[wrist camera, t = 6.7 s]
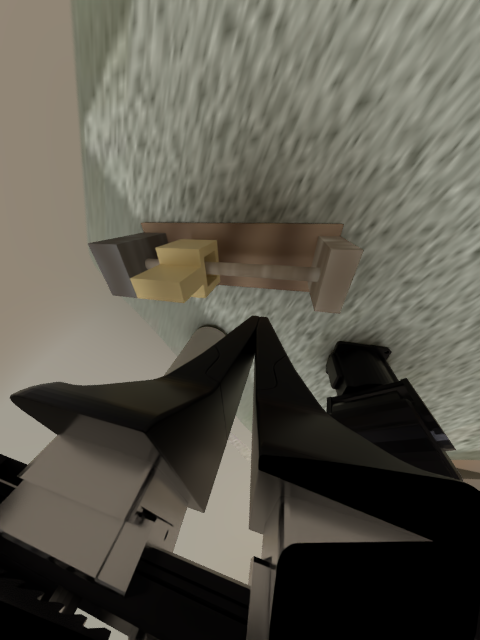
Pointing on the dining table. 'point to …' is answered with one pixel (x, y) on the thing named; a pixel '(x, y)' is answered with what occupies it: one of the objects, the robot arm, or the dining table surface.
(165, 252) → the marker sleeve
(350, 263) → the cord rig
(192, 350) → the beverage can
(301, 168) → the dining table surface
